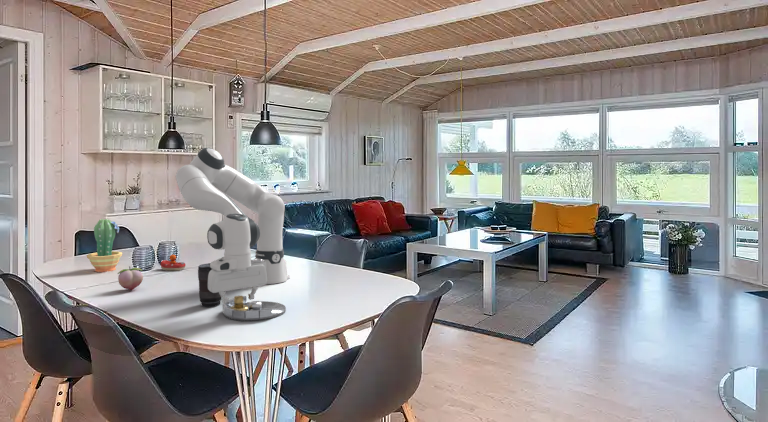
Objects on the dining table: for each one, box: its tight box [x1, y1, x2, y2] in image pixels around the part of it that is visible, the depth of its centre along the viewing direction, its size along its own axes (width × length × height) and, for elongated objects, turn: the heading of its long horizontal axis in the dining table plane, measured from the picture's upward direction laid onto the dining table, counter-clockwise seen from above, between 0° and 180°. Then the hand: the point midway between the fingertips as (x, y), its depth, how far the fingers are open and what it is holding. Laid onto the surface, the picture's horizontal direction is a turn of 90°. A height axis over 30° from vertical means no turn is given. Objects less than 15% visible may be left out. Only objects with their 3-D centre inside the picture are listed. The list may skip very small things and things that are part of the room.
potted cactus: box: [86, 218, 123, 273], centre depth 249 cm, size 15×15×25 cm
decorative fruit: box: [117, 266, 144, 291], centre depth 210 cm, size 9×8×10 cm
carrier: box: [221, 295, 287, 322], centre depth 180 cm, size 22×22×3 cm
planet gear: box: [230, 295, 248, 311], centre depth 176 cm, size 6×6×6 cm
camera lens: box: [197, 262, 222, 308], centre depth 189 cm, size 8×8×15 cm
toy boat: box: [160, 254, 186, 272], centre depth 252 cm, size 8×12×8 cm, turn 83°
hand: (238, 301), depth 176 cm, fingers open, 8 cm apart
